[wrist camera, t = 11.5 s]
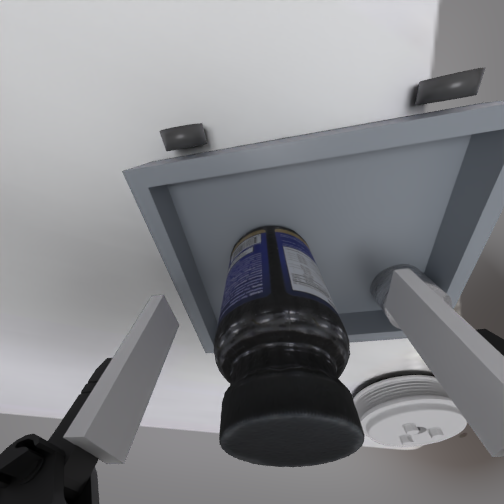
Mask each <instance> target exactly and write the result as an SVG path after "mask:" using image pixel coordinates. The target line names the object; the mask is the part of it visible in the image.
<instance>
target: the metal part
mask: <svg viewBox="0 0 504 504" xmlns="http://www.w3.org/2000/svg"><path fill="white" fill-rule="evenodd" d="M407 268H409V269H410V270H411V271H412V272H414V273H415V274H416V275H417V276H418V277H419V278H420V279H421V280H422V281H423V282H424V283H425V284H426V285H428V286H429V287H430V288H431V289H432V290H433V291H434V292H435V293H436V294H437V295H438V296H439V297H440V298H442V299H443V300H444V301H445V302H446V303H447V304H448V305H449V306H450V307H451V306H452V300H451V298H450V296H449V295H448V294H447V293H445V292H444V291H443V290H442V289H441V288H440V287H439V286H437V285H436V284H435V283H434V282H433V281H432V280H431V279H429V278H428V277H427V276H426V275H425V274H424V273H423V272H422V271H420V270H419V269H418V268H417V267H415V266H413V265H408V264H400V265H395V266H392V267H389V268H387V269H385V270H383V271H382V272H380V273H379V274H378V275H377V276H376V277H375V278H374V279H373V281H372V283H371V286H370V292H371V294H372V296H373V297H374V299H375V300H376V302H377V303H378V305H379V306H380V307H381V309H382V310H383V312H384V313H385V315H386V316H387V318H388V319H389V321H390V322H391V323H392V325H393V326H395V327H396V328H399V329H401V328H400V327H399V325H398V324H397V323H396V321H395V320H394V318H393V317H392V316H391V314H390V313H389V311H388V310H387V309H386V307H385V304H386V300H387V296H388V292H389V288H390V284H391V280H392V276H393V272H394V270H398V269H407Z"/></svg>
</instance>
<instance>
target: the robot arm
mask: <svg viewBox="0 0 504 504" xmlns="http://www.w3.org/2000/svg"><path fill="white" fill-rule="evenodd" d="M385 307H386V309H387V310H388V311H389V313H390V314H391V316H392V317H393V318H394V320H395V321H396V323H397V324H398V325H399V327H400V328H401V330H402V331H403V332H404V334H405V335H406V337H407V338H408V339H409V341H410V342H411V344H412V345H413V346H414V348H415V349H416V351H417V352H418V353H419V355H420V356H421V358H422V359H423V360H424V362H425V363H426V365H427V366H428V368H429V369H430V370H431V372H432V373H433V375H434V376H435V377H436V379H437V380H438V382H439V383H440V384H441V386H442V387H443V389H444V390H445V391H446V393H447V394H448V396H449V397H450V398H451V400H452V401H453V403H454V404H455V405H456V407H457V408H458V410H459V411H460V412H461V414H462V415H463V417H464V418H465V419H466V421H467V422H468V424H469V425H470V426H471V428H472V429H473V431H474V432H475V433H476V435H477V436H478V437H479V439H480V440H481V442H482V443H483V445H484V446H485V448H486V449H487V450H488V452H489V453H490V454H491V456H492V457H503V456H504V339H502V338H500V337H499V336H497V335H495V334H493V333H492V332H490V331H488V330H486V329H478V330H475V329H474V328H473V327H471V325H469V324H468V323H467V322H466V321H465V320H464V319H463V318H462V317H461V316H460V315H459V314H458V313H457V312H456V311H454V310H453V309H452V308H451V307H450V306H449V305H448V304H447V303H446V302H445V301H444V300H443V299H442V298H440V297H439V296H438V295H437V294H436V293H435V292H434V291H433V290H432V289H431V288H430V287H429V286H428V285H426V284H425V283H424V282H423V281H422V280H421V279H420V278H419V277H418V276H417V275H416V274H415V273H414V272H412V271H411V270H410V269H409V268H407V269H398V270H394V272H393V276H392V280H391V284H390V288H389V292H388V296H387V300H386V304H385ZM178 327H179V323H178V322H177V320H176V318H175V316H174V314H173V312H172V310H171V308H170V306H169V304H168V302H167V300H166V298H165V296H164V295H155V296H151V298H150V300H149V301H148V303H147V304H146V306H145V308H144V309H143V311H142V312H141V314H140V315H139V317H138V319H137V320H136V322H135V323H134V325H133V327H132V328H131V330H130V331H129V333H128V335H127V336H126V338H125V339H124V341H123V343H122V344H121V346H120V347H119V349H118V350H117V352H116V354H115V355H114V357H113V358H107V359H106V360H105V361H104V362H103V363H102V364H101V365H100V366H99V367H98V368H97V369H96V370H95V372H94V373H93V375H92V376H91V378H90V379H89V381H88V384H86V385H85V387H84V388H83V390H82V391H81V394H80V395H79V396H78V397H77V399H76V400H75V402H74V403H73V405H72V406H71V408H70V409H69V411H68V412H67V414H66V415H65V417H64V418H63V420H62V422H61V423H60V425H59V426H58V427H57V429H56V430H55V432H54V433H53V435H52V436H51V437H50V439H49V440H48V441H46V440H44V439H42V438H41V437H39V436H37V435H35V434H30V435H26V436H24V437H22V438H20V439H18V440H16V441H15V442H14V443H13V444H11V445H10V446H9V447H7V448H6V450H4V451H3V452H2V453H1V454H0V504H99V493H98V479H97V472H96V469H95V468H94V467H95V465H96V463H97V461H98V459H99V460H101V461H102V462H104V463H106V464H123V463H125V460H126V457H127V455H128V453H129V450H130V448H131V445H132V443H133V440H134V437H135V435H136V432H137V430H138V427H139V425H140V422H141V420H142V417H143V415H144V412H145V410H146V407H147V405H148V402H149V400H150V397H151V395H152V392H153V390H154V387H155V385H156V382H157V380H158V377H159V375H160V372H161V370H162V367H163V364H164V362H165V359H166V357H167V354H168V352H169V349H170V347H171V344H172V342H173V339H174V337H175V334H176V332H177V329H178Z"/></svg>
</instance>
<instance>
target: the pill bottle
mask: <svg viewBox="0 0 504 504" xmlns="http://www.w3.org/2000/svg"><path fill="white" fill-rule="evenodd" d="M214 354H215V360H216V364H217V366H218V368H219V371H220V372H221V374H222V375H223V376H224V378H225V379H226V380H227V381H228V382H229V383H230V387H228V389H227V391H226V392H225V394H224V398H223V401H222V412H221V424H220V437H219V440H220V445H221V447H222V449H223V450H225V452H226V453H228V454H229V455H231V456H233V457H235V458H237V459H240V460H243V461H247V462H250V463H253V464H258V465H266V466H278V467H285V466H286V467H297V466H298V467H301V466H312V465H319V464H324V463H328V462H333V461H336V460H338V459H340V458H344V457H346V456H349V455H350V454H352V453H354V452H356V451H357V450H358V449H359V448H360V447H361V446H362V444H363V442H364V431H363V428H362V425H361V422H360V419H359V415H358V412H357V409H356V407H355V405H354V401H353V398H352V395H351V393H350V391H349V390H348V388H347V387H346V386H345V385H344V384H343V383H342V382H341V381H340V380H339V379H338V378H339V377H340V376H341V374H342V372H343V371H344V369H345V367H346V365H347V363H348V359H349V355H350V350H349V339H348V335H347V332H346V330H345V327H344V325H343V323H342V321H341V319H340V316H339V314H338V312H337V310H336V307H335V305H334V303H333V301H332V298H331V296H330V294H329V292H328V290H327V287H326V285H325V283H324V281H323V278H322V276H321V274H320V271H319V269H318V267H317V265H316V262H315V260H314V258H313V256H312V253H311V251H310V249H309V247H308V245H307V243H306V241H305V240H304V239H303V238H302V237H301V236H300V235H299V234H298V233H296V232H295V231H293V230H291V229H288V228H285V227H281V226H265V227H259V228H257V229H253V230H252V231H250V232H248V233H246V234H245V235H244V236H243V237H241V238H240V239H239V241H238V242H237V243H236V244H235V245H234V248H233V250H232V252H231V256H230V263H229V268H228V273H227V279H226V284H225V289H224V295H223V300H222V305H221V310H220V316H219V321H218V326H217V331H216V336H215V340H214Z"/></svg>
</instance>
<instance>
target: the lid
mask: <svg viewBox="0 0 504 504" xmlns="http://www.w3.org/2000/svg"><path fill="white" fill-rule="evenodd" d="M353 401H354V405H355V407H356V409H357V412H358V415H359V419H360V422H361V425H362V428H363V431H364V435H366V436H368V437H370V438H371V439H372V440H373V441H375V442H377V443H379V444H383V445H388V446H399V447H406V446H419V445H426V444H431V443H435V442H439V441H442V440H445V439H448V438H451V437H453V436H455V435H457V434H458V433H460V432H461V431H462V430H463V429H464V428H465V427H466V425H467V421H466V419H465V418H464V417H463V415H462V414H461V412H460V411H459V410H458V408H457V407H456V405H455V404H454V403H453V401H452V400H451V398H450V397H449V396H448V394H447V393H446V391H445V390H444V389H443V387H442V386H441V384H440V383H439V382H438V380H437V379H436V377H433V376H426V375H408V376H399V377H394V378H389V379H385V380H382V381H379V382H376V383H374V384H372V385H369V386H368V387H366V388H364V389H363V390H361V391H360V392H359V393H358V394H356V396H355V397H354V399H353Z"/></svg>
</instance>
